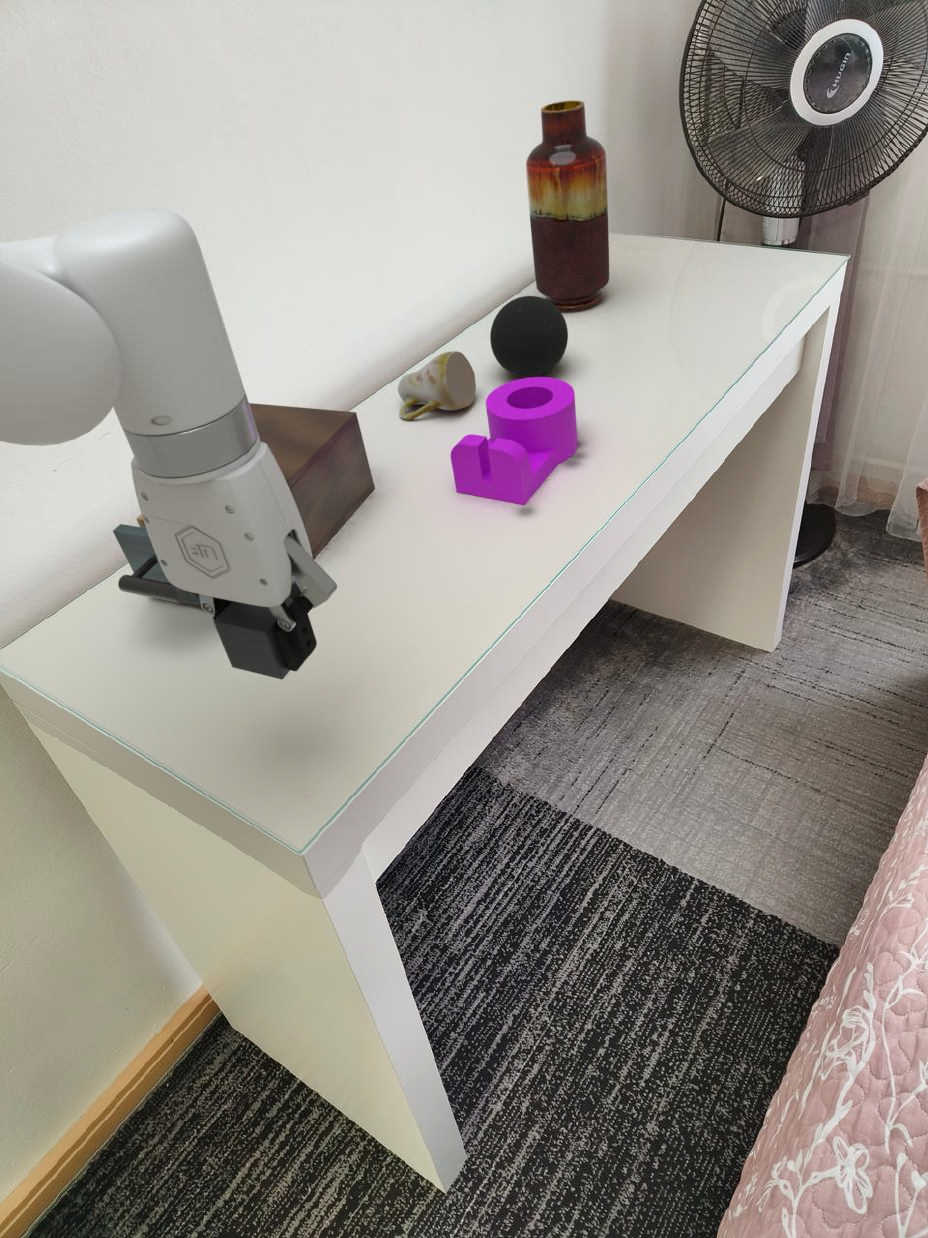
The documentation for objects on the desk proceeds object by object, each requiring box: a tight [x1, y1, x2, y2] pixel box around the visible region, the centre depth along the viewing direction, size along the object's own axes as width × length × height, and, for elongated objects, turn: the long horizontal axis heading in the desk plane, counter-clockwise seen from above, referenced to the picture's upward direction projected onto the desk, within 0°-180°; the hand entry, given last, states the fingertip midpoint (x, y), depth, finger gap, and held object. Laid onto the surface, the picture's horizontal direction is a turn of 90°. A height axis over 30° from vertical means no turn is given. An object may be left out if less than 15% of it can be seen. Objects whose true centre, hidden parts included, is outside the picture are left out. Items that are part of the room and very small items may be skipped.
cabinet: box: [249, 402, 376, 560], centre depth 92 cm, size 14×15×10 cm
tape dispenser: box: [450, 376, 579, 506], centre depth 94 cm, size 16×10×6 cm, turn 150°
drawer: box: [112, 513, 201, 606], centre depth 83 cm, size 17×13×8 cm
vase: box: [525, 100, 610, 313], centre depth 121 cm, size 11×11×26 cm
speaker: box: [489, 295, 569, 378], centre depth 109 cm, size 10×10×10 cm
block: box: [212, 595, 293, 681], centre depth 62 cm, size 5×5×5 cm
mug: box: [397, 350, 477, 421], centre depth 107 cm, size 8×10×10 cm
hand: (272, 649), depth 63 cm, fingers closed on block, 4 cm apart
